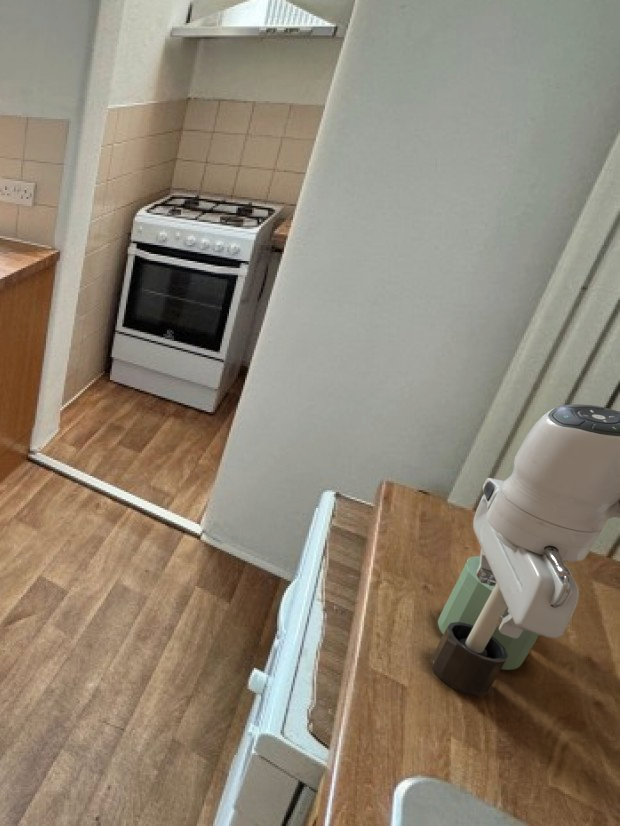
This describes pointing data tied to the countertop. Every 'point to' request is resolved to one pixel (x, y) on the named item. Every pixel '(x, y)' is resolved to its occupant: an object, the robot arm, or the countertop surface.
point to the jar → (470, 604)
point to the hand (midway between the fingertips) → (494, 605)
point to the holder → (467, 661)
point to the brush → (486, 623)
